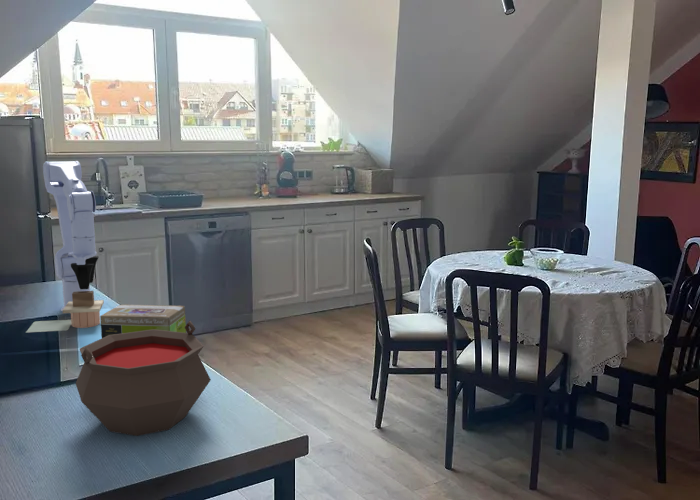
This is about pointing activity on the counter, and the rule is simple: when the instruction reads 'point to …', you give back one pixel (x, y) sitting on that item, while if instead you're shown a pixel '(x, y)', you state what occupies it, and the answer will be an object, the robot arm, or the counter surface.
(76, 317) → the cup
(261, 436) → the counter surface
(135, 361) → the brown cauldron
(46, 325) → the mat
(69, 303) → the lid
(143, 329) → the tea box
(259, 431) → the counter surface
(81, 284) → the robot arm
